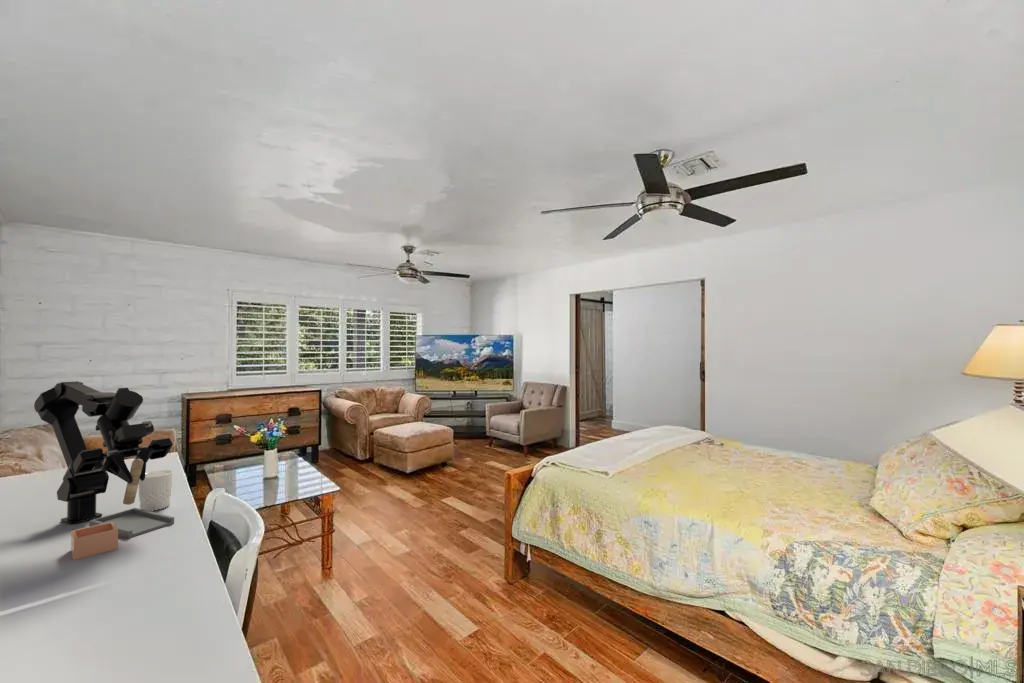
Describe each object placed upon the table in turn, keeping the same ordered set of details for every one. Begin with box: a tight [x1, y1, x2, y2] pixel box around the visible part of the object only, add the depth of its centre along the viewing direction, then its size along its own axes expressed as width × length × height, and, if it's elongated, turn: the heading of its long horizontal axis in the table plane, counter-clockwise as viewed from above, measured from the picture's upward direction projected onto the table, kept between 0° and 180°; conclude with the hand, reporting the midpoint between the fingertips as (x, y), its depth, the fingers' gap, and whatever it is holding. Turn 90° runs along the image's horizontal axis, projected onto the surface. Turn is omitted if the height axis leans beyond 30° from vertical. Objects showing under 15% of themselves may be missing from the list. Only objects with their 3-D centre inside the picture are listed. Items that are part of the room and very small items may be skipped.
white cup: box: [138, 469, 173, 512], centre depth 129 cm, size 8×8×10 cm
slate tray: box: [88, 507, 175, 539], centre depth 114 cm, size 18×10×2 cm, turn 67°
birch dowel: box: [122, 459, 143, 506], centre depth 110 cm, size 6×2×12 cm, turn 63°
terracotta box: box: [70, 521, 119, 561], centre depth 100 cm, size 7×7×5 cm
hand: (137, 481), depth 109 cm, fingers closed on birch dowel, 2 cm apart
